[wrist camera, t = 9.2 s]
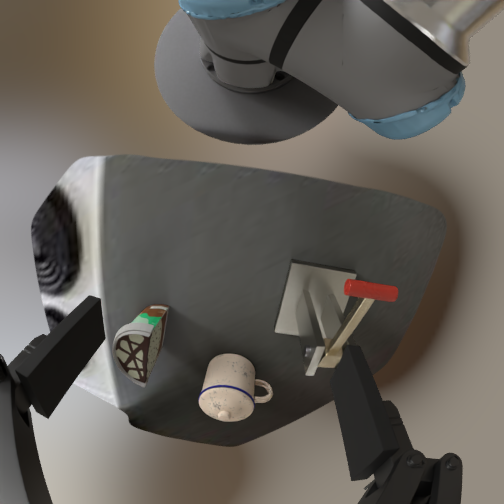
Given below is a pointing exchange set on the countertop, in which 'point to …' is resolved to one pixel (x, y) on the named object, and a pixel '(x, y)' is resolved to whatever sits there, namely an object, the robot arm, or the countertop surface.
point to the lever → (354, 316)
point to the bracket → (313, 308)
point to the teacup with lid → (231, 388)
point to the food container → (141, 343)
